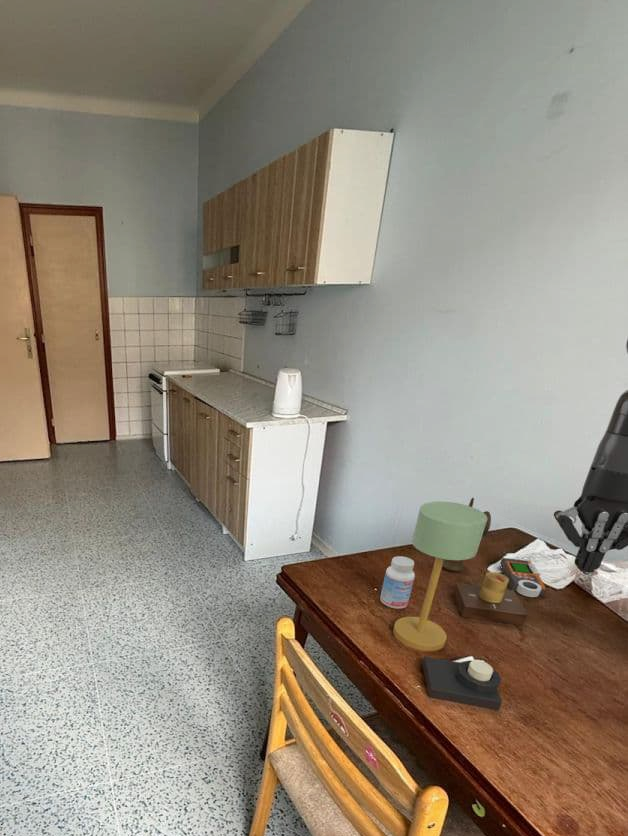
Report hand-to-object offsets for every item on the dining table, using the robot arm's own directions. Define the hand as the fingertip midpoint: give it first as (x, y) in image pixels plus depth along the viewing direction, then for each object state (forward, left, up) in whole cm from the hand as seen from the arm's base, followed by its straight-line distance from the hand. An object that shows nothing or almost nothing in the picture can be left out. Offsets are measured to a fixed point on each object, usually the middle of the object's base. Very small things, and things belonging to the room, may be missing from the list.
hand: (584, 569), depth 75 cm
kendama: (+6, -43, -25) cm, 50 cm away
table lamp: (+18, -10, -25) cm, 32 cm away
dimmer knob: (+2, -25, -22) cm, 33 cm away
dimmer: (+2, -25, -25) cm, 35 cm away
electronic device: (-9, -40, -25) cm, 48 cm away
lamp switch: (+11, +4, -21) cm, 24 cm away
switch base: (+13, +4, -25) cm, 28 cm away
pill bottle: (+22, -22, -25) cm, 40 cm away
